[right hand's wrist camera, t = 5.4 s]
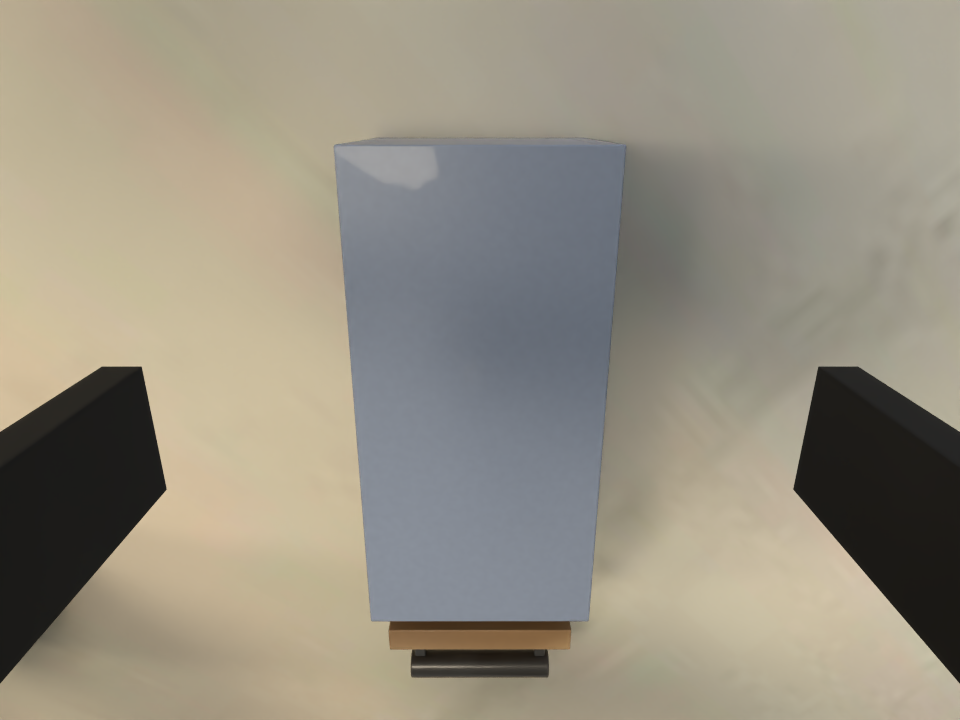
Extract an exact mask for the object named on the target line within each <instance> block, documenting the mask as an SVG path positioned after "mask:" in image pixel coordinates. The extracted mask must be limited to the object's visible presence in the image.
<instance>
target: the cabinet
mask: <svg viewBox="0 0 960 720" xmlns="http://www.w3.org/2000/svg"><path fill="white" fill-rule="evenodd" d="M625 155H626V145H624V144H617V143H611V142H605V141H599V140H593V139H587V138H373V139H367V140H361V141H355V142H349V143H343V144H336V145H334V156H335V169H336V182H337V194H338V207H339V220H340V232H341V245H342V258H343V270H344V283H345V296H346V308H347V321H348V334H349V347H350V359H351V372H352V385H353V397H354V410H355V423H356V435H357V448H358V461H359V473H360V486H361V499H362V511H363V524H364V537H365V549H366V562H367V575H368V588H369V600H370V613H371V621H588V620H589V611H590V598H591V585H592V573H593V560H594V547H595V535H596V522H597V510H598V497H599V484H600V472H601V459H602V446H603V434H604V421H605V408H606V396H607V383H608V370H609V358H610V345H611V332H612V320H613V307H614V294H615V282H616V269H617V257H618V244H619V231H620V219H621V206H622V193H623V181H624V168H625Z"/></svg>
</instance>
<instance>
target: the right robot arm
mask: <svg viewBox="0 0 960 720" xmlns="http://www.w3.org/2000/svg"><path fill="white" fill-rule="evenodd" d="M166 490H167V489H166V484H165V479H164V474H163V469H162V464H161V459H160V454H159V450H158V445H157V440H156V435H155V430H154V425H153V420H152V415H151V411H150V406H149V401H148V396H147V391H146V386H145V381H144V376H143V371H142V367H101V368H99V369H98V370H96V371H95V372H93V373H91V374H90V375H88V376H87V377H85V378H84V379H82V380H81V381H79V382H77V383H76V384H74V385H73V386H71V387H70V388H68V389H67V390H65V391H63V392H62V393H60V394H59V395H57V396H56V397H54V398H53V399H51V400H49V401H48V402H46V403H45V404H43V405H42V406H40V407H38V408H37V409H35V410H34V411H32V412H31V413H29V414H28V415H26V416H24V417H23V418H21V419H20V420H18V421H17V422H15V423H14V424H12V425H10V426H9V427H7V428H6V429H4V430H3V431H1V432H0V683H1V682H2V681H3V680H4V678H5V677H6V676H7V675H8V674H9V673H10V671H11V670H12V669H13V668H14V667H15V666H16V664H17V663H18V662H19V661H20V660H21V659H22V657H23V656H24V655H25V654H26V653H27V652H28V650H29V649H30V648H31V647H32V646H33V645H34V643H35V642H36V641H37V640H38V639H39V638H40V636H41V635H42V634H43V633H44V632H45V631H46V629H47V628H48V627H49V626H50V625H51V624H52V622H53V621H54V620H55V619H56V618H57V617H58V615H59V614H60V613H61V612H62V611H63V610H64V608H65V607H66V606H67V605H68V604H69V603H70V601H71V600H72V599H73V598H74V597H75V596H76V594H77V593H78V592H79V591H80V590H81V589H82V587H83V586H84V585H85V584H86V583H87V582H88V580H89V579H90V578H91V577H92V576H93V575H94V573H95V572H96V571H97V570H98V569H99V568H100V566H101V565H102V564H103V563H104V562H105V561H106V560H107V558H108V557H109V556H110V555H111V554H112V553H113V551H114V550H115V549H116V548H117V547H118V546H119V544H120V543H121V542H122V541H123V540H124V539H125V537H126V536H127V535H128V534H129V533H130V532H131V530H132V529H133V528H134V527H135V526H136V525H137V523H138V522H139V521H140V520H141V519H142V518H143V516H144V515H145V514H146V513H147V512H148V511H149V509H150V508H151V507H152V506H153V505H154V504H155V502H156V501H157V500H158V499H159V498H160V497H161V495H162V494H163V493H164V492H165V491H166ZM793 490H794V491H795V492H796V493H797V494H798V495H799V497H800V498H801V499H802V500H803V501H804V502H805V504H806V505H807V506H808V507H809V508H810V509H811V511H812V512H813V513H814V514H815V515H816V516H817V518H818V519H819V520H820V521H821V522H822V523H823V525H824V526H825V527H826V528H827V529H828V530H829V532H830V533H831V534H832V535H833V536H834V537H835V539H836V540H837V541H838V542H839V543H840V544H841V546H842V547H843V548H844V549H845V550H846V551H847V553H848V554H849V555H850V556H851V557H852V558H853V560H854V561H855V562H856V563H857V564H858V565H859V566H860V568H861V569H862V570H863V571H864V572H865V573H866V575H867V576H868V577H869V578H870V579H871V580H872V582H873V583H874V584H875V585H876V586H877V587H878V589H879V590H880V591H881V592H882V593H883V594H884V596H885V597H886V598H887V599H888V600H889V601H890V603H891V604H892V605H893V606H894V607H895V608H896V610H897V611H898V612H899V613H900V614H901V615H902V617H903V618H904V619H905V620H906V621H907V622H908V624H909V625H910V626H911V627H912V628H913V629H914V631H915V632H916V633H917V634H918V635H919V636H920V638H921V639H922V640H923V641H924V642H925V643H926V645H927V646H928V647H929V648H930V649H931V650H932V652H933V653H934V654H935V655H936V656H937V657H938V659H939V660H940V661H941V662H942V663H943V664H944V666H945V667H946V668H947V669H948V670H949V671H950V673H951V674H952V675H953V676H954V677H955V678H956V680H957V681H958V682H959V683H960V432H959V431H957V430H956V429H954V428H953V427H951V426H950V425H948V424H946V423H945V422H943V421H942V420H940V419H939V418H937V417H936V416H934V415H932V414H931V413H929V412H928V411H926V410H925V409H923V408H922V407H920V406H918V405H917V404H915V403H914V402H912V401H911V400H909V399H907V398H906V397H904V396H903V395H901V394H900V393H898V392H897V391H895V390H893V389H892V388H890V387H889V386H887V385H886V384H884V383H883V382H881V381H879V380H878V379H876V378H875V377H873V376H872V375H870V374H869V373H867V372H865V371H864V370H862V369H861V368H859V367H818V371H817V376H816V381H815V386H814V391H813V396H812V401H811V406H810V410H809V415H808V420H807V425H806V430H805V435H804V440H803V445H802V450H801V454H800V459H799V464H798V469H797V474H796V479H795V484H794V489H793Z"/></svg>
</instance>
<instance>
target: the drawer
mask: <svg viewBox="0 0 960 720" xmlns="http://www.w3.org/2000/svg"><path fill="white" fill-rule="evenodd" d="M570 640H571V627H570V621H390V626H389V643H390V649H412V656H411V676H412V677H413V678H467V677H548V675H549V659H548V650H547V649H570Z"/></svg>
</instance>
